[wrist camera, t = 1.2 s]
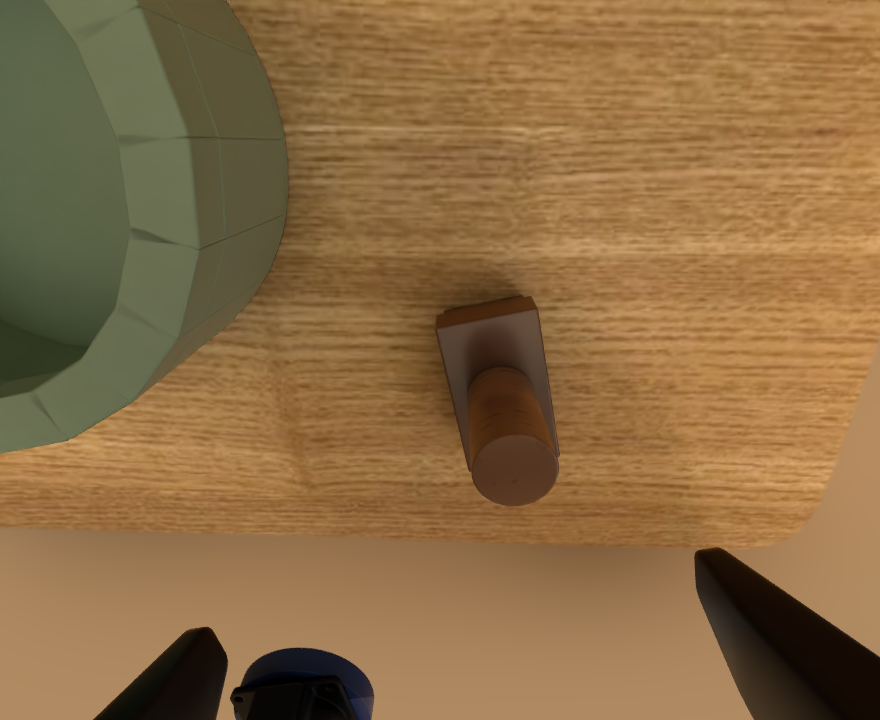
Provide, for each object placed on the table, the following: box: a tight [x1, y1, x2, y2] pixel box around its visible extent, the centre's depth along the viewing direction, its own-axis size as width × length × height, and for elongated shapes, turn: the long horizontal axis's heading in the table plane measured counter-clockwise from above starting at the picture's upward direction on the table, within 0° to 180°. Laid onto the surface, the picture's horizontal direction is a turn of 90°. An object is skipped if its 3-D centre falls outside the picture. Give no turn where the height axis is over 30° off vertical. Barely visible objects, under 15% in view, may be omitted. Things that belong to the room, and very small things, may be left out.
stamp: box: [435, 295, 560, 506], centre depth 17 cm, size 6×4×7 cm, turn 12°
